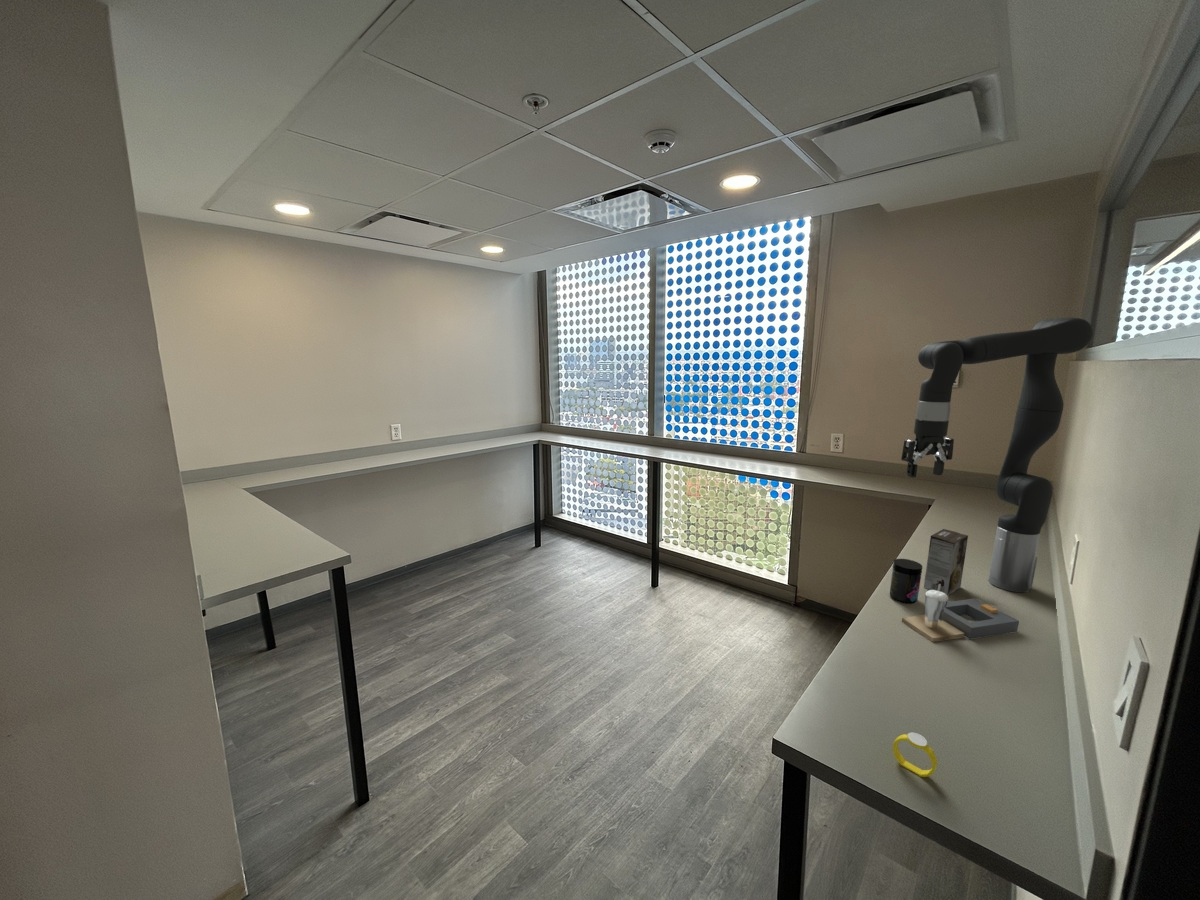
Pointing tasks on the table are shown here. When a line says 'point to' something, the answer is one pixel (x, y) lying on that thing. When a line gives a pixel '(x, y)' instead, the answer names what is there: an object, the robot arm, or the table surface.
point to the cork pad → (933, 634)
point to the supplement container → (905, 581)
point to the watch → (919, 743)
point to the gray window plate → (978, 619)
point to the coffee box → (945, 561)
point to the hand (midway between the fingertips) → (924, 475)
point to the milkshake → (935, 608)
